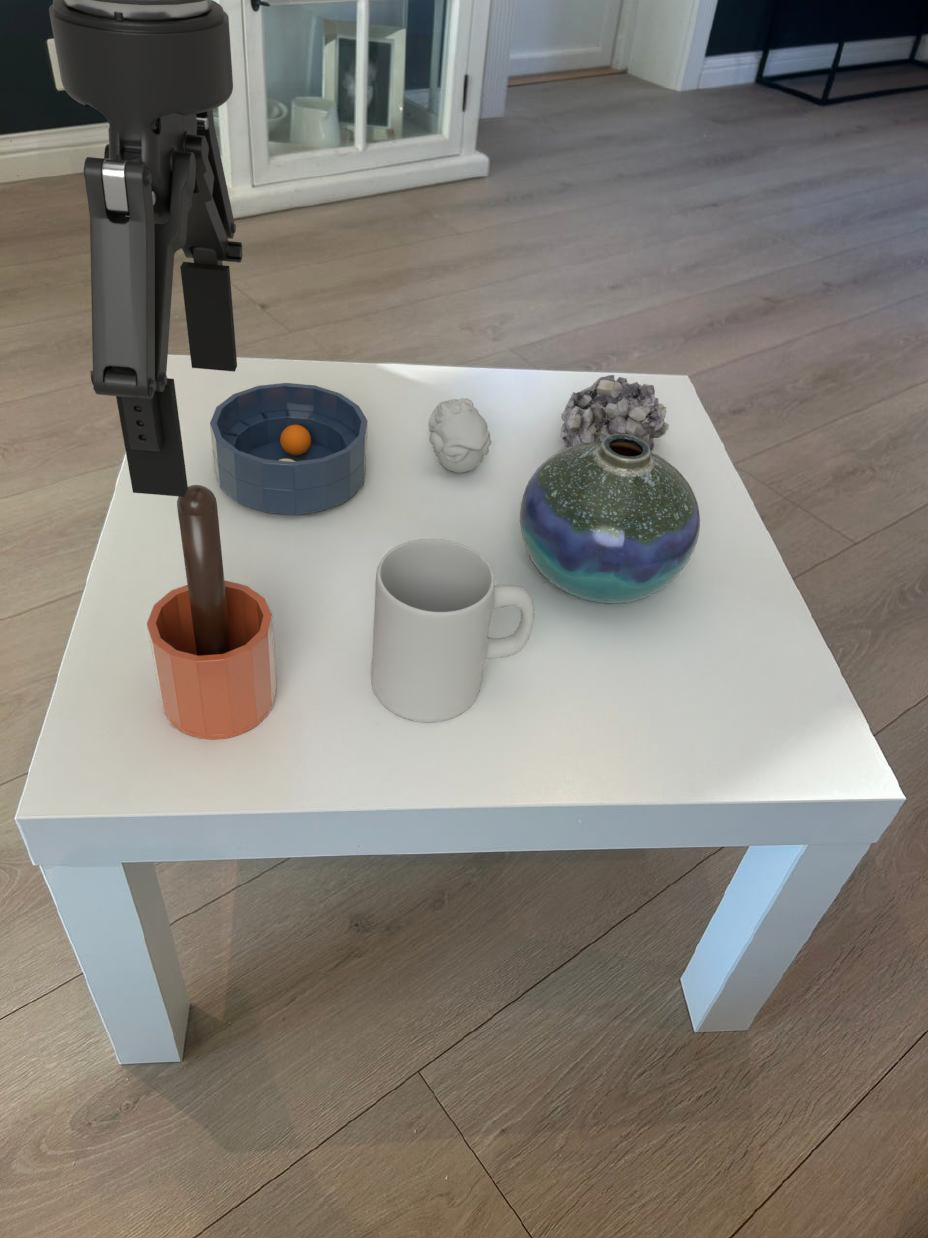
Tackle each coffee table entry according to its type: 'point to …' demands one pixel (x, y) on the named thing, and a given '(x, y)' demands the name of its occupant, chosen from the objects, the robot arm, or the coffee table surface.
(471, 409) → the frog figurine
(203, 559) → the stick
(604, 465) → the vase
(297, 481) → the bowl
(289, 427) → the ball
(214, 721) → the holder
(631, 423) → the mineral specimen
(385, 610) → the mug
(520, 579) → the coffee table surface
